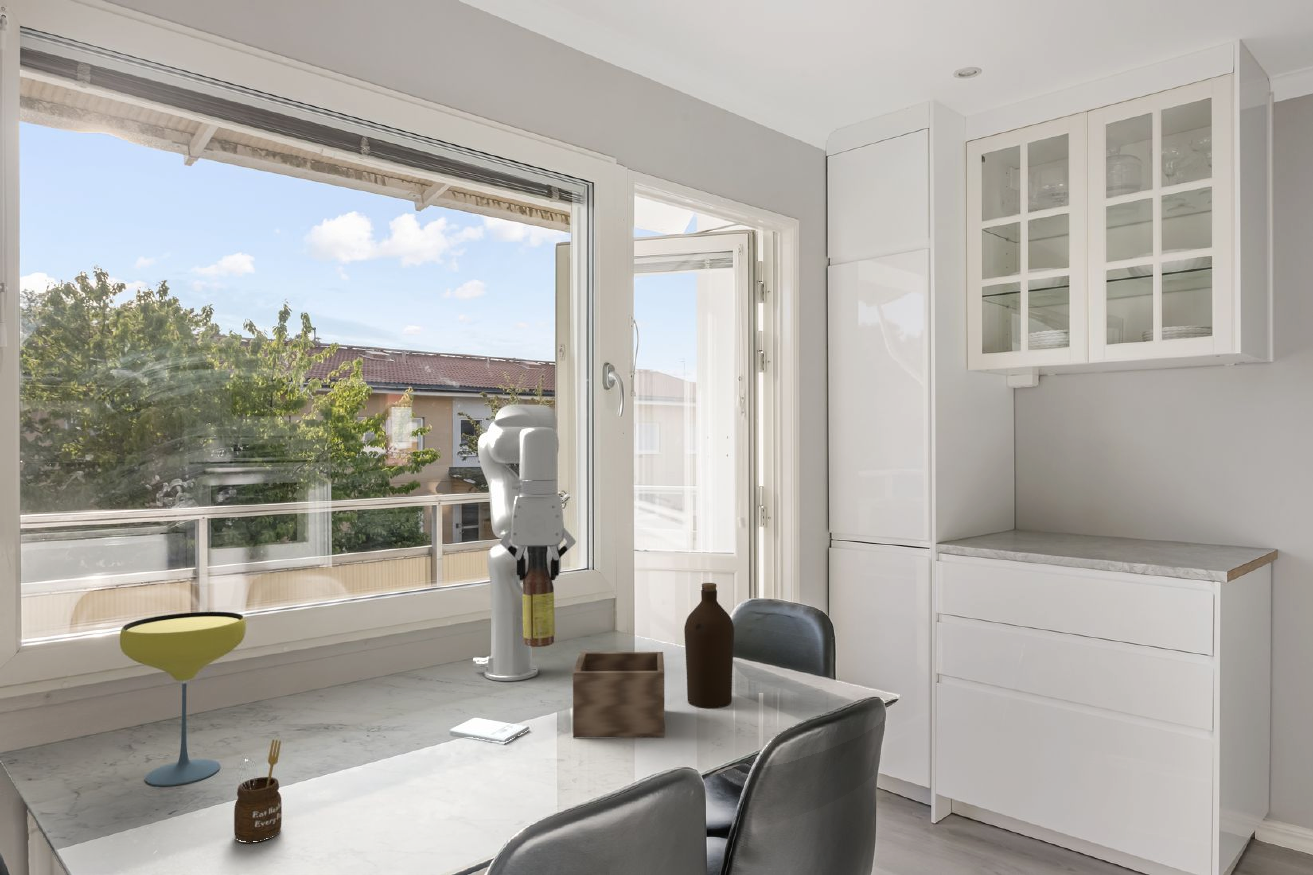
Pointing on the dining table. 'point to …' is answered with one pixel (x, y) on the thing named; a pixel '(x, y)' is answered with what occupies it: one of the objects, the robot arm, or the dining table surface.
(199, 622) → the cocktail glass
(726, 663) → the olive oil
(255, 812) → the utensil holder
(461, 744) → the dining table surface
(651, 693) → the walled box
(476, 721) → the external hard drive
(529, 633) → the sauce bottle
